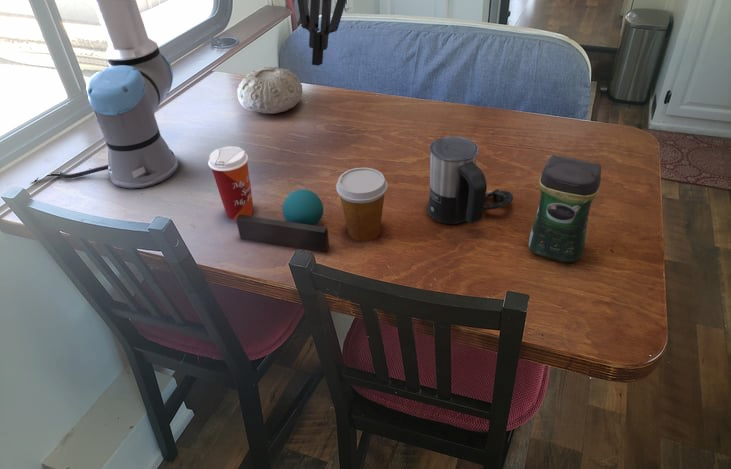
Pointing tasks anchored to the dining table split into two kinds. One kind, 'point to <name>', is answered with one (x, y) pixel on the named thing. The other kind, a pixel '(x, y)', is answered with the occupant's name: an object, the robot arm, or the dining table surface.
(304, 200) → the ball
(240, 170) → the paper cup
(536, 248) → the coffee jar
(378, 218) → the disposable coffee cup
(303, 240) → the block
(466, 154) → the milk frother
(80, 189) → the dining table surface
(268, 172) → the dining table surface
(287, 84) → the decorative shell
